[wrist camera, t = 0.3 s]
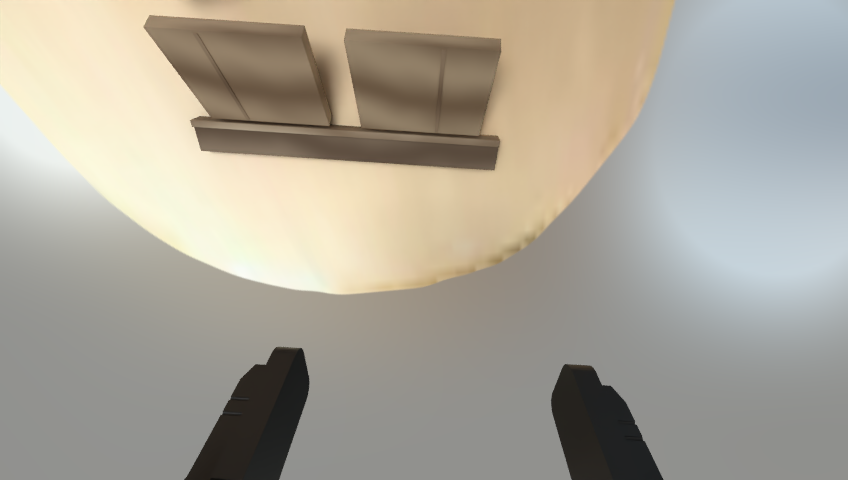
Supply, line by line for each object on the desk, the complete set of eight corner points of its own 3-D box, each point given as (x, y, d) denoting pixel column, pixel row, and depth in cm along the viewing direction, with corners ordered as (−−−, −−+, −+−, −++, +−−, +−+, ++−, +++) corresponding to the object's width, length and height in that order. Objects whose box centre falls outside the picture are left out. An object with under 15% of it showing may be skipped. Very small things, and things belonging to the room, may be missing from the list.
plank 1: (149, 15, 25) (142, 27, 24) (304, 25, 25) (300, 38, 24) (215, 108, 33) (211, 118, 33) (331, 115, 33) (329, 126, 33)
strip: (200, 116, 34) (190, 120, 33) (497, 136, 34) (499, 140, 33) (208, 146, 36) (199, 151, 34) (492, 165, 36) (494, 171, 34)
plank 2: (346, 28, 25) (343, 41, 24) (500, 38, 25) (501, 51, 24) (363, 118, 33) (361, 128, 33) (479, 125, 33) (478, 136, 33)
